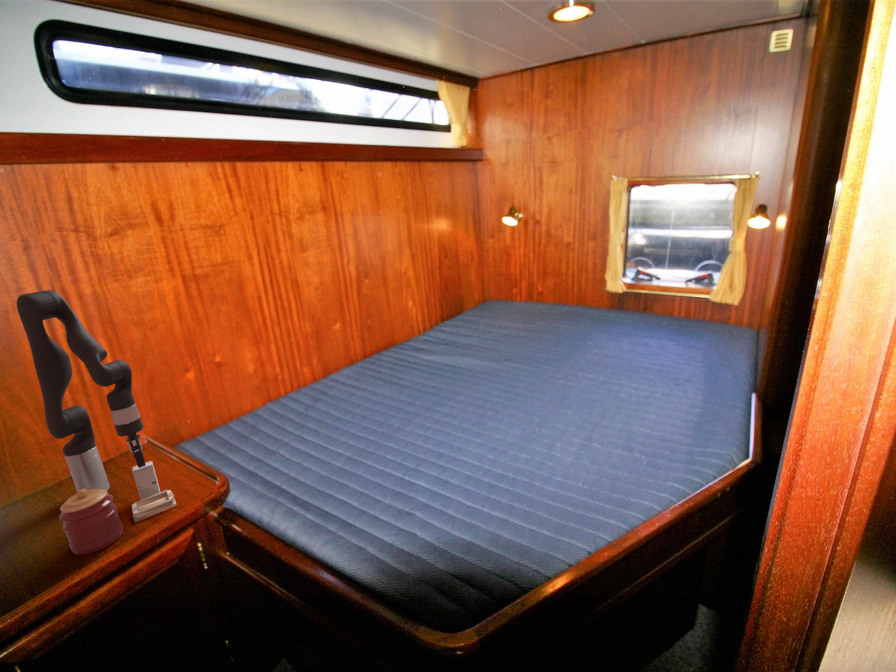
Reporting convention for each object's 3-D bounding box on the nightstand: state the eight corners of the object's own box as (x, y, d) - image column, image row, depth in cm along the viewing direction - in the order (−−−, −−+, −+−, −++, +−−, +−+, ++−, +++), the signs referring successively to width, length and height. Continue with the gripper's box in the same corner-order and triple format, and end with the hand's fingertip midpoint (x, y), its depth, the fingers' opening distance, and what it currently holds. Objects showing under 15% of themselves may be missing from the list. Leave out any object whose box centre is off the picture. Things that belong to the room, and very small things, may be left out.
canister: (97, 527, 145) (80, 478, 141) (134, 526, 144) (118, 476, 140) (60, 556, 133) (40, 503, 129) (99, 555, 131) (80, 502, 127)
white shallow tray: (132, 509, 153) (130, 503, 153) (172, 494, 160) (170, 487, 160) (134, 522, 145) (132, 516, 145) (176, 505, 152) (174, 499, 152)
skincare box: (141, 502, 157) (131, 471, 154) (141, 497, 161) (131, 466, 158) (161, 495, 160) (152, 464, 157) (161, 490, 164) (152, 459, 161)
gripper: (112, 417, 157) (126, 460, 161) (114, 428, 146) (129, 474, 150) (138, 410, 161) (151, 451, 165) (141, 420, 150) (155, 464, 154)
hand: (140, 462), depth 157 cm, fingers open, 8 cm apart
